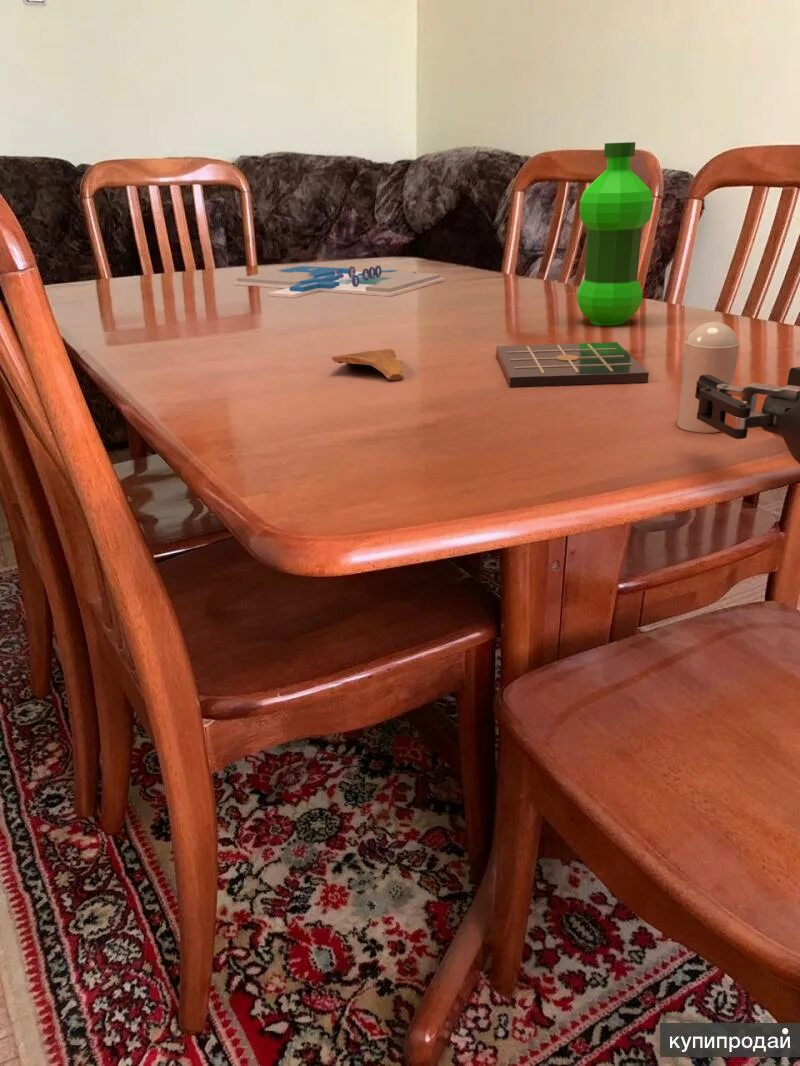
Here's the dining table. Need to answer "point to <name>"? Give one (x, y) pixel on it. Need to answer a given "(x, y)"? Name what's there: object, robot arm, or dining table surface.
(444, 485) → the dining table surface
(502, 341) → the dining table surface
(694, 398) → the dome-topped cylinder
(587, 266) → the plastic bottle
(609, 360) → the board
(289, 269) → the relief map
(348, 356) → the pottery shard
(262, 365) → the dining table surface
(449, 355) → the dining table surface
